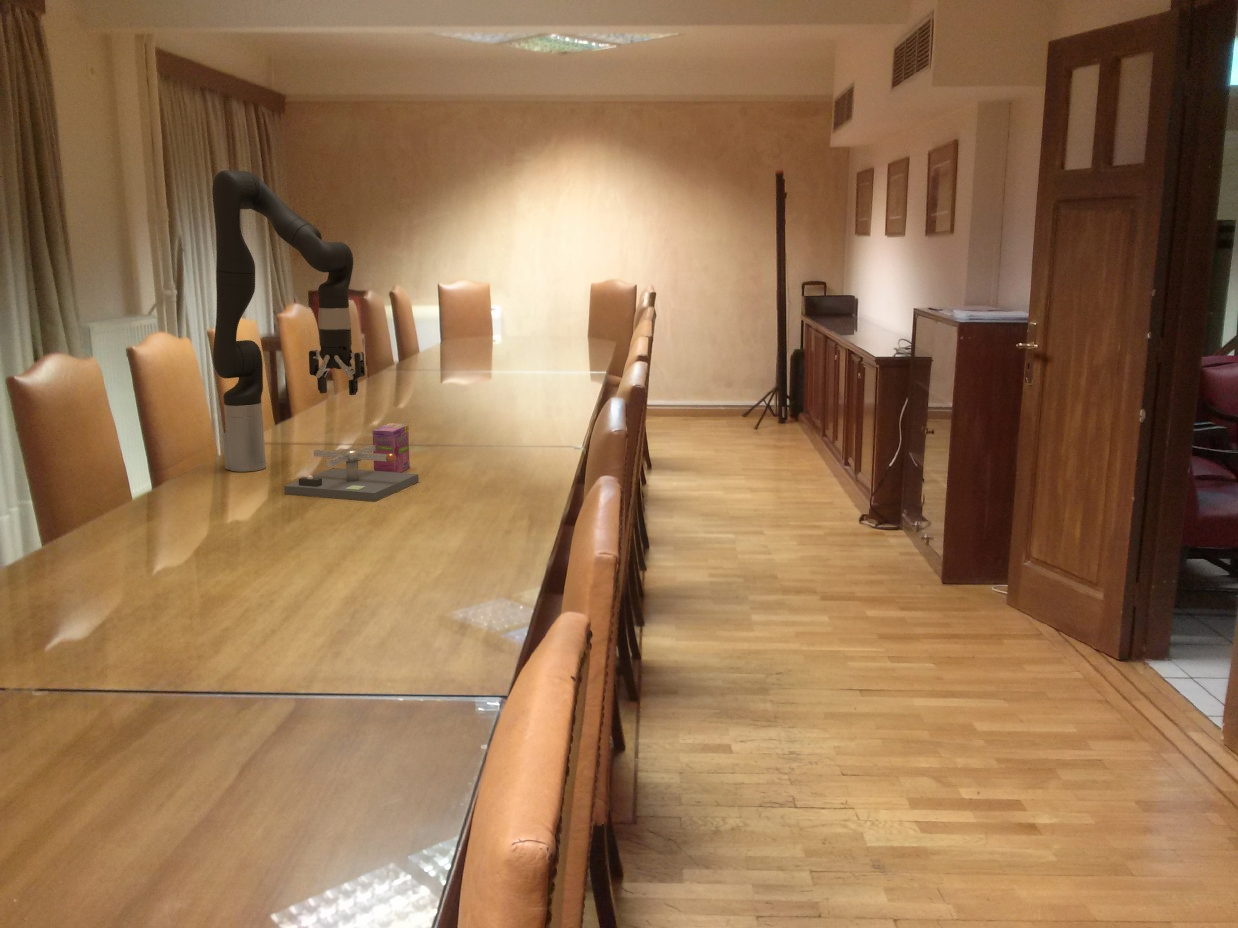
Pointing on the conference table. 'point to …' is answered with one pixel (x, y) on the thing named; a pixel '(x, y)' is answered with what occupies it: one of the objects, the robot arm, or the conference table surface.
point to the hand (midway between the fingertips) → (338, 393)
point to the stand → (351, 483)
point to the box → (392, 447)
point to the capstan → (354, 455)
